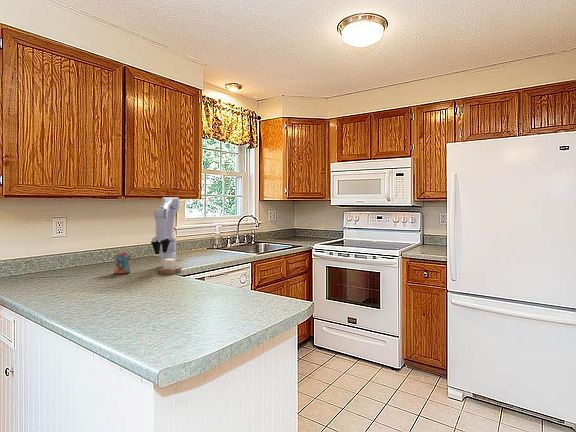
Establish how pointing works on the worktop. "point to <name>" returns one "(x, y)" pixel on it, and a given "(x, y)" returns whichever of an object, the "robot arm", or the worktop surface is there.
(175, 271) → the base slab
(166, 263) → the cube
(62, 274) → the worktop surface
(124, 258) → the mug
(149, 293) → the worktop surface
